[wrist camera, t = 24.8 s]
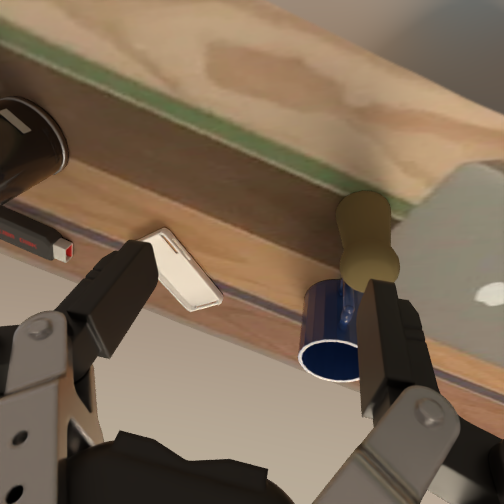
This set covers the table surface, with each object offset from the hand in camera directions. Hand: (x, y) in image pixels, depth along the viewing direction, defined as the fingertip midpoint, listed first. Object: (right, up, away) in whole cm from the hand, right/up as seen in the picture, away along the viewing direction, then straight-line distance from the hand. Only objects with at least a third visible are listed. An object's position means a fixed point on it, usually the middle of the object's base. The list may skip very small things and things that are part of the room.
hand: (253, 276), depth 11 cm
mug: (+12, -5, +32) cm, 35 cm away
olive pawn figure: (+13, +5, +24) cm, 28 cm away
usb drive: (-35, +4, +38) cm, 52 cm away
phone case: (-11, -2, +37) cm, 38 cm away
